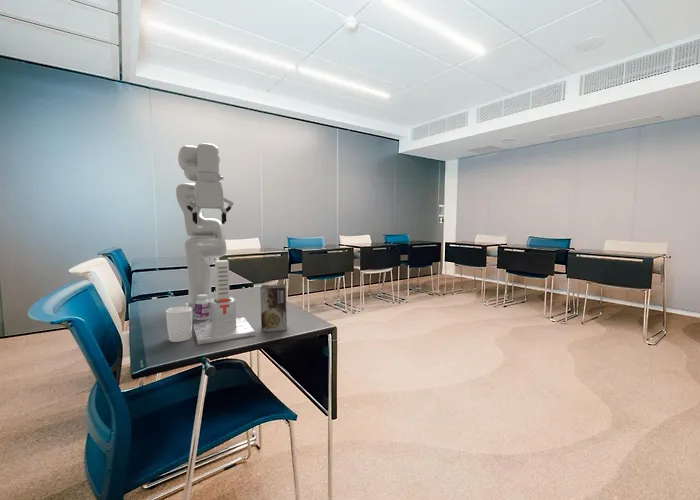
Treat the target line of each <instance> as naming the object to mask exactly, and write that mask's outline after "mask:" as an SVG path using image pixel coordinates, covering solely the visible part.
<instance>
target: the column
mask: <svg viewBox="0 0 700 500" xmlns="http://www.w3.org/2000/svg"><path fill="white" fill-rule="evenodd" d="M229 265H230V263H229V260H227V259H221V260H220V259H219V260H214V276H215V277H214V279H215V280H214V281H215V297H214V298H215V300H216V303H218V302H219V299H229V301H230V297H231V296H230V266H229Z"/></svg>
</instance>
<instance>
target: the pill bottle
mask: <svg viewBox="0 0 700 500" xmlns="http://www.w3.org/2000/svg"><path fill="white" fill-rule="evenodd" d="M207 298H208V296H207V294H200V295H197V300H196V301H195V309H194V318H195V320H197V321H205V320H208V319H210V304H209V303H210V302H209V300H208V299H207Z"/></svg>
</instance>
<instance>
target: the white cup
mask: <svg viewBox="0 0 700 500" xmlns="http://www.w3.org/2000/svg"><path fill="white" fill-rule="evenodd" d="M193 311H194V309H193V308H192V307H188V306H185V305H184V306H175V307H170V308H168V309H166V310H165V317H166V327H167V328H166V329H167V335H168V341H169V342H173V343H179V342H185V341H188V340H190V339H192V336H193V334H192V332H193V331H192V330H193Z"/></svg>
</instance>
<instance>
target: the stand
mask: <svg viewBox="0 0 700 500" xmlns="http://www.w3.org/2000/svg"><path fill="white" fill-rule="evenodd" d="M229 297H230V301H229V299H219V302H218V303H216V300H215V298H216V297H214V298H211V300H210V317H209V319H210V321H207V322H199V323H193V331H194V335H195V338H196V343H197V346H199V345H206V344H211V343H217V342H222V341H223V342H224V341H229V340H237V339H240V338H241V339H242V338H247V337H253V336H256V331H255V330H254V328H253V327H252V326H251V324H250V323H249V322H248V320H247V319H246V318H245V317H237V312H236V311H237V309H236V307H237V304H236V303H237V302H236V299H235V298H234V297H231V296H229Z"/></svg>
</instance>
